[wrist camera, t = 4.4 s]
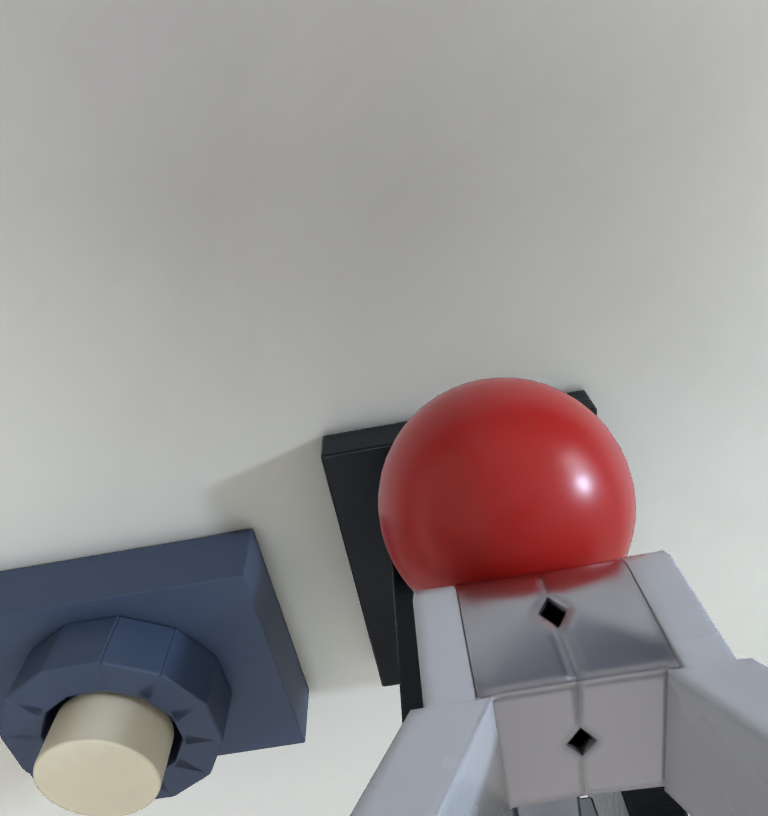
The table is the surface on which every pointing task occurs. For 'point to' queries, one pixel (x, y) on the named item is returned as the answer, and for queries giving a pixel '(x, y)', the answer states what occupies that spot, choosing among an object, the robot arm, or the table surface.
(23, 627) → the button box
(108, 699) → the button
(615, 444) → the lever
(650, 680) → the robot arm
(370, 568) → the bracket
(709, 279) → the table surface
